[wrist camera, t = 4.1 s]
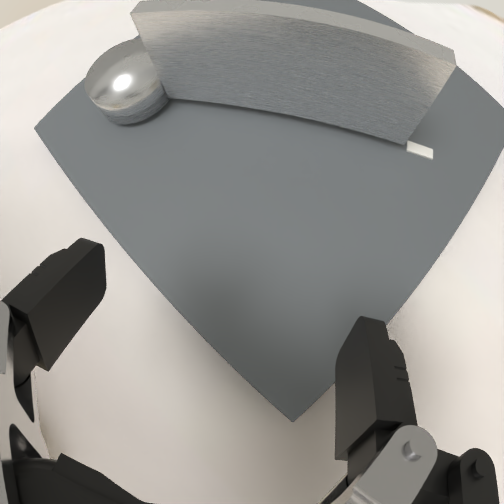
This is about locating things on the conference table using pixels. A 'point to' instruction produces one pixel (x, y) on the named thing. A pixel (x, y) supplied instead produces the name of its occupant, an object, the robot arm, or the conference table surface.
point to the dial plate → (280, 215)
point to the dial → (272, 65)
